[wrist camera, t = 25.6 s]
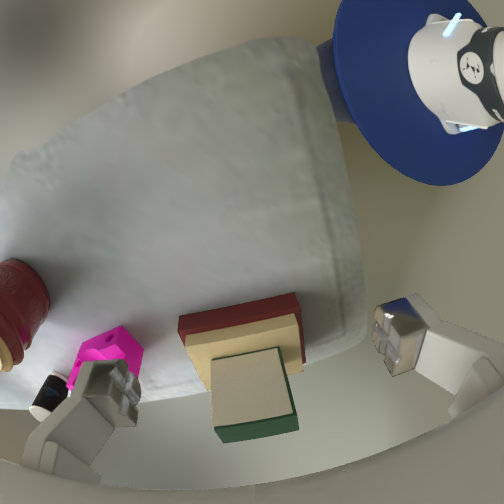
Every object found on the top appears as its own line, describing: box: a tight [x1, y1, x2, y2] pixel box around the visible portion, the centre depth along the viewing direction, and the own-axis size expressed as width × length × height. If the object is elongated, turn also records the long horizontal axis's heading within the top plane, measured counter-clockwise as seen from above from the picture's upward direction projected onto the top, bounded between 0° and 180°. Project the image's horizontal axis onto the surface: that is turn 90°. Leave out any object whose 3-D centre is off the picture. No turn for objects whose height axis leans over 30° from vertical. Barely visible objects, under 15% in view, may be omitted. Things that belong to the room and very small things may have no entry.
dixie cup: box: [29, 372, 69, 422], centre depth 45 cm, size 8×8×11 cm
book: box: [210, 346, 299, 443], centre depth 37 cm, size 10×5×12 cm, turn 101°
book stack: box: [177, 292, 306, 390], centre depth 44 cm, size 18×13×6 cm
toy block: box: [66, 326, 144, 391], centre depth 43 cm, size 15×6×8 cm, turn 115°
